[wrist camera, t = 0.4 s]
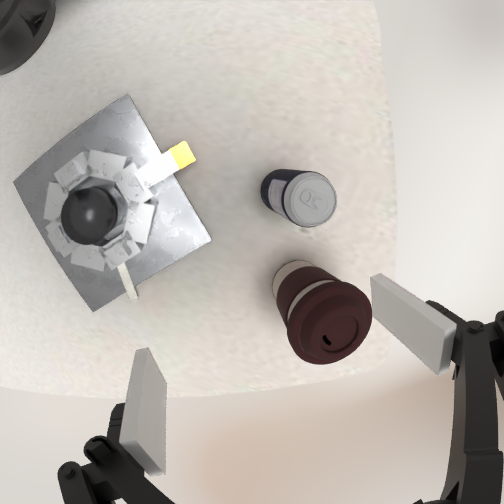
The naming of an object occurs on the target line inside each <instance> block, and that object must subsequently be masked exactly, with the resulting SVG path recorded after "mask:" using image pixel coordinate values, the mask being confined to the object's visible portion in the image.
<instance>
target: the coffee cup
mask: <svg viewBox="0 0 504 504" xmlns="http://www.w3.org/2000/svg"><path fill="white" fill-rule="evenodd" d="M273 294H274V297H275V299H276V301H277V307H278V309H279V312H280V314H281V316H282V319H283V321H284V323H285V326H286V328H287V336H288V340H289V342H290V345H291V346H292V348H293V350H294V352H295V353H296V354H297V356H299V357H300V358H301V359H302V360H304V361H306V362H309V363H312V364H319V365H324V364H330V363H334V362H337V361H339V360H341V359H343V358H345V357H347V356H348V355H350V354H351V353H352V352H354V351H355V350H356V349H357V348H358V347H359V346H360V344H361V343H362V342H363V340H364V339H365V338H366V336H367V334H368V332H369V329H370V326H371V323H372V307H371V304H370V301H369V299H368V298H367V296H366V295H365V294H364V293H363V292H362V291H361V290H360V289H358V288H357V287H356V286H354V285H352V284H350V283H347V282H342V281H340V280H339V279H337V278H336V277H334V276H333V275H331V274H329V273H328V272H326V271H325V270H323V269H321V268H318V267H315V266H314V265H312V264H311V263H309V262H306V261H293V262H290V263H288V264H286V265H284V266H283V267H282V268H281V269H280V270H279V271H278V272H277V274H276V275H275V277H274V280H273Z"/></svg>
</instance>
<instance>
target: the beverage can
mask: <svg viewBox="0 0 504 504" xmlns="http://www.w3.org/2000/svg"><path fill="white" fill-rule="evenodd" d="M261 196H262V199H263V202H264V203H265V205H266V206H267V207H268V208H269V209H271V210H273V211H274V212H276V213H278V214H279V215H281V216H283V217H285V218H286V219H288V220H290V221H291V222H293V223H295V224H296V225H298V226H301V227H315V226H318V225H321V224H323V223H325V222H326V221H328V220H329V219H330V218H331V217H332V215H333V214H334V212H335V209H336V206H337V195H336V191H335V189H334V187H333V186H332V184H331V183H330V182H329V180H328V179H327V178H326V177H325V176H323V175H321V174H319V173H317V172H312V171H300V170H287V169H279V170H275V171H273V172H271V173H270V174H268V175H267V176H266V178H265V179H264V181H263V183H262V186H261Z"/></svg>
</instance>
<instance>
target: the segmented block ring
mask: <svg viewBox="0 0 504 504" xmlns="http://www.w3.org/2000/svg"><path fill="white" fill-rule="evenodd" d="M130 161H131V157H127V156H122V155H117V154H113V153H108V152H103V151H98V150H90V152H81V153H80V154H78V155H77V156H76V157H74V158H73V159H72V160H71V161H69V162H68V163H67V164H65V165H64V166H63V167H62V168H60V169H59V170H58V171H57V172H55V173H54V175H55V177H56V179H57V180H56V181H50V182H49V186H48V192H47V198H46V205H45V212H44V219H47V220H51V221H52V222H51V223H50V224H49V225H47V226H46V227H45V228H46V229H47V231H48V233H49V234H48V235H47V236H48V238H49V240H50V241H51V243H52V244H53V246H54V248H55V249H56V251H57V252H58V251H60V252H61V254H62V255H63V257H64V258H65V257H66V256H67V255H69V254H70V253H71V252H72V255H71V263H73V264H76V265H80V266H84V267H87V268H91V269H95V270H99V271H103V272H104V270H105V269H106V268H107V266H109V267H110V269H111V270H113V269H115V268H116V267H118V266H119V265H121V264H122V263H124V262H125V261H127V260H128V259H130V258H132V257H133V256H135V255H136V254H138V253H139V252H141V251H142V249H143V247H144V244H147V242H148V240H149V238H150V234H151V229H152V225H153V220H154V216H155V212H156V207H157V203H156V202H152V201H148V199H150V198H152V197H153V196H154V195H156V193H155V191H154V189H153V188H152V186H153V185H155V184H157V183H158V182H160V181H161V180H163V179H165V178H166V177H168V176H170V175H171V174H173V173H175V172H176V171H178V170H180V169H182V168H184V167H186V166H187V165H189V164H191V163H193V162H194V161H196V159H195V158H194V156H193V154H192V152H191V150H190V149H189V147H188V145H187V143H186V142H185V141H183V142H182V143H180V144H178V145H176V146H175V147H173V148H171V149H169V151H167V152H165V153H164V154H162V155H160V156H159V157H157V158H155V159H154V160H152V161H151V162H149V163H147V164H146V165H144V166H143V167H140V165H139V163H136V162H133V163H132V164H130ZM129 164H130V165H129ZM93 177H98V178H102V179H107V180H111V181H115V183H116V184H117V186H118V188H119V189H120V191H121V193H122V195H123V196H124V198H125V200H126V201H127V203H128V205H129V208H128V212H127V217H126V222H125V227H124V231H123V232H121V233H120V234H118V235H117V236H115V237H114V238H112V239H111V240H109V241H105V240H100V241H98V242H97V243H94V244H91V245H81V244H78V243H76V242H74V241H73V240H71V239H70V238H69V237H68V236H67V234H66V233H65V231H64V229H63V227H62V223H61V210H62V206H63V204H64V202H65V200H66V199H67V198H68V196H69V195H71V194H72V193H73V192H75V191H77V189H78V188H79V187H81V186H82V185H83V184H85V183H86V182H88V181H89V180H90V179H92V178H93Z"/></svg>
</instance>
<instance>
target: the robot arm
mask: <svg viewBox="0 0 504 504" xmlns="http://www.w3.org/2000/svg"><path fill="white" fill-rule="evenodd" d="M54 16H55V4H54V1H53V0H0V75H2V74H5V73H8V72H10V71H12V70H14V69H16V68H17V67H19V66H20V65H21V64H23V63H24V62H25V61H26V60H27V59H29V58H30V57H31V56H32V55H33V54H34V52H35V51H36V50H37V49H38V48H39V46H40V45H41V44H42V42H43V41H44V39H45V38H46V36H47V34H48V32H49V30H50V28H51V26H52V23H53V20H54ZM370 281H371V294H372V311H373V317H374V318H375V319H376V320H378V321H379V322H380V323H381V324H382V325H383V326H384V327H385V328H386V329H387V330H389V331H390V332H391V333H392V334H393V335H394V336H395V337H396V338H397V339H398V340H400V341H401V342H402V343H403V344H404V345H405V346H406V347H407V348H408V349H409V350H410V351H412V352H413V353H414V354H415V355H416V356H417V357H418V358H419V359H420V360H421V361H422V362H423V363H424V364H425V365H427V366H428V367H429V368H430V369H431V370H432V371H433V372H434V373H435V374H436V375H437V376H439V375H441V374H442V373H444V372H446V371H447V370H448V369H449V367H450V362H451V360H452V361H453V362H454V363H455V364H456V365H455V370H454V374H453V378H452V379H453V380H454V379H455V389H454V393H455V394H454V415H453V429H452V440H451V448H450V457H449V464H448V471H447V477H446V482H445V486H444V489H443V492H442V494H441V498H440V500H435V501H430V502H425V503H423V502H422V500H421V499H420V500H418V501H417V502H415V503H413V504H500V502H501V492H502V480H503V452H502V451H499V449H498V415H497V399H496V388H495V380H496V382H497V385H498V387H499V389H500V393H501V395H502V397H503V400H504V311H500V312H498V313H497V314H496V317H495V321H494V322H491V323H488V324H485V325H484V324H483V323H482V322H479V321H468V322H466V321H465V320H463V319H462V318H460V317H458V316H457V315H456V314H454V313H453V312H451V311H449V310H448V309H446V308H444V306H442V305H440V304H439V303H437V302H434V301H430V300H428V301H426V302H424V301H422V300H421V299H419V298H418V297H416V296H415V295H413V294H412V293H410V292H409V291H407V290H406V289H404V288H403V287H401V286H400V285H398V284H397V283H395V282H394V281H392V280H391V279H389V278H387V277H386V276H384V275H383V274H381V273H380V274H377V275H375V276H372V277H370ZM494 378H495V379H494ZM166 394H167V383H166V381H165V379H164V377H163V375H162V373H161V371H160V370H159V368H158V366H157V364H156V362H155V360H154V358H153V356H152V354H151V352H150V350H149V348H144V349H140V350H136V352H135V357H134V361H133V366H132V371H131V376H130V381H129V386H128V391H127V397H126V402H125V403H120V404H116V406H115V407H114V409H113V411H112V412H111V417H110V422H109V427H108V432H107V437H105V436H95V437H93V438H91V439H90V440H89V441H88V442H87V443H86V444H85V446H84V454H85V456H86V457H87V458H88V459H89V460H90V461H91V462H92V463H90V464H87V465H84V466H80V465H79V464H78V463H76V462H72V461H70V462H66V463H64V464H63V465H62V466H61V467H60V468H59V470H58V481H59V485H60V489H61V492H62V496H63V500H64V502H65V504H116V503H115V501H114V500H117V499H120V498H123V499H124V501H125V502H126V503H127V504H175V503H174V502H172V501H171V500H170V499H169V498H168V497H166V496H165V495H164V494H163V493H162V492H161V491H159V490H158V489H157V488H156V487H155V486H154V485H153V484H152V483H151V482H150V481H149V480H147V479H146V478H145V477H144V470H145V471H146V473H147V474H148V475H149V476H158V475H165V474H166V460H165V458H166V456H165V455H166V453H165V449H166V447H165V445H166V443H165V439H166V437H165V436H166V435H165V434H166V432H165V431H166Z"/></svg>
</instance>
